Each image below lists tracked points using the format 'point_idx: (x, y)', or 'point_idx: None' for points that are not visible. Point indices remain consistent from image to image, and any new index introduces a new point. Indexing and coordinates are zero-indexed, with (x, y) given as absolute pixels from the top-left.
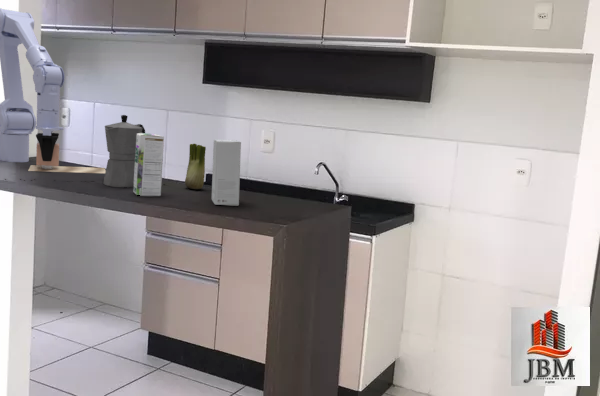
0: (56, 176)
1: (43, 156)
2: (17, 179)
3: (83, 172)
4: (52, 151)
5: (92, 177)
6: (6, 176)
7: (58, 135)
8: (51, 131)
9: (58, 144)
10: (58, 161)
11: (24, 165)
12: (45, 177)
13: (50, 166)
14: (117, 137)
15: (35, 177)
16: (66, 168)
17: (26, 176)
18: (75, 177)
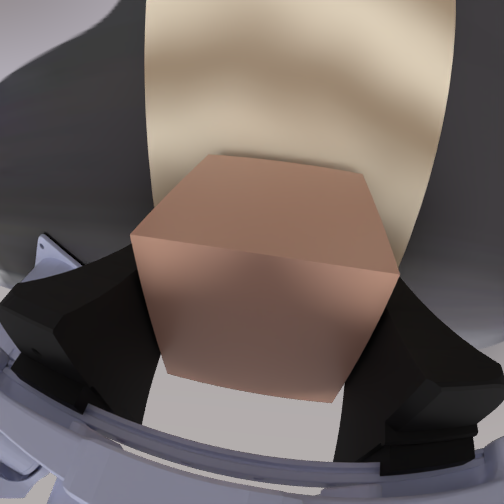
0: (451, 187)
1: None
2: (481, 327)
3: (450, 31)
4: (404, 287)
5: (475, 5)
6: None
7: (68, 316)
8: (378, 490)
9: (241, 257)
10: (367, 187)
11: None
12: (470, 242)
13: None
14: None
15: (461, 277)
16: (254, 97)
17: (428, 303)
18: (486, 97)
